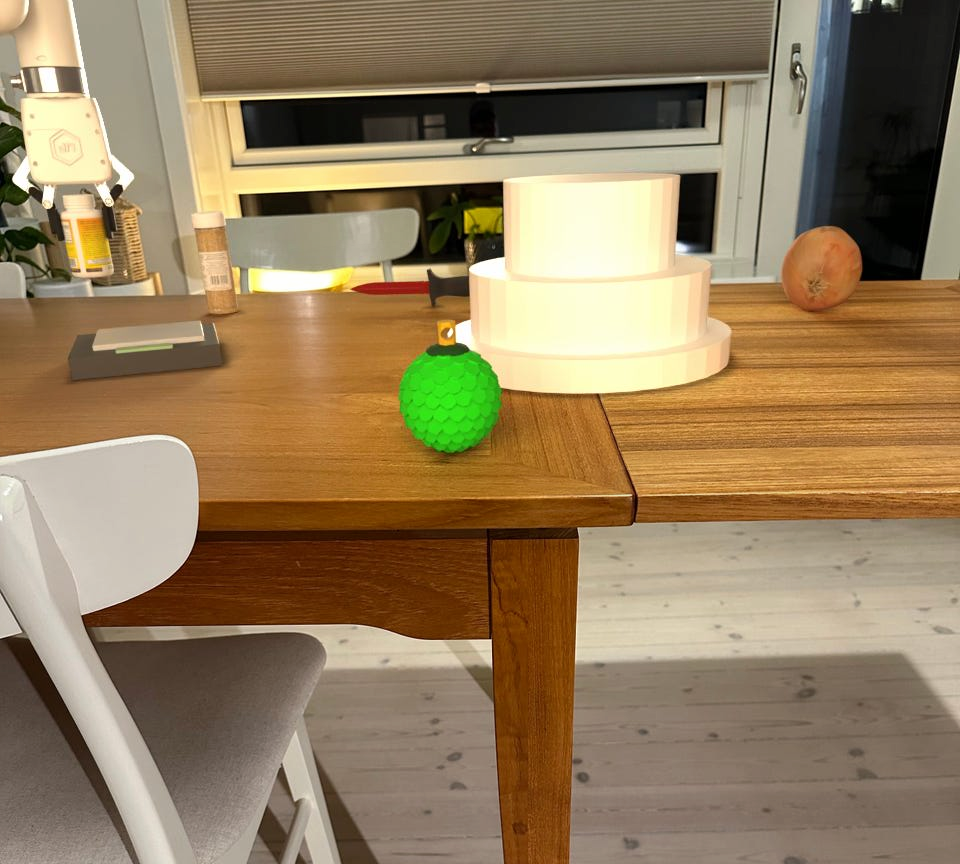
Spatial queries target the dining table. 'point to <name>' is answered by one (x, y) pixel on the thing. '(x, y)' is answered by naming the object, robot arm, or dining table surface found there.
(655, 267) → the cake
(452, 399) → the ornament
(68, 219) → the supplement bottle
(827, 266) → the onion
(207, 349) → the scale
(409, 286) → the knife
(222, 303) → the sprinkles bottle
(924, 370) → the dining table surface
